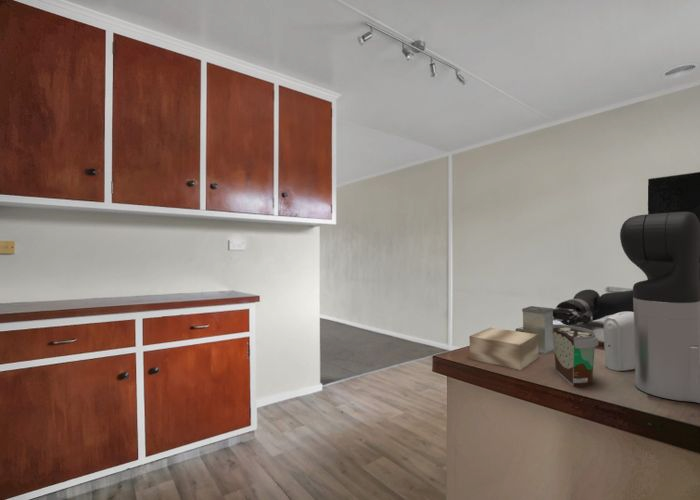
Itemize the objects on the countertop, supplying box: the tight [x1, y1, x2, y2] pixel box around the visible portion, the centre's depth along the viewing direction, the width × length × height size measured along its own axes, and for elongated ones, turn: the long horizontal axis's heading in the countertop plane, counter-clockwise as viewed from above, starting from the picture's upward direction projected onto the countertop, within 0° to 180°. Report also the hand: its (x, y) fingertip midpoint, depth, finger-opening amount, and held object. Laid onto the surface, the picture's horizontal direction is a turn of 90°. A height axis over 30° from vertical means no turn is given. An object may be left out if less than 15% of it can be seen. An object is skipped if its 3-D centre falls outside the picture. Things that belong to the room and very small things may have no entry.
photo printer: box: [603, 312, 635, 372], centre depth 78 cm, size 10×4×12 cm, turn 105°
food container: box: [552, 323, 599, 388], centre depth 72 cm, size 12×6×10 cm, turn 168°
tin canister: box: [521, 305, 554, 355], centre depth 92 cm, size 6×6×11 cm
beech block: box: [469, 327, 539, 371], centre depth 86 cm, size 12×12×6 cm
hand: (553, 319), depth 99 cm, fingers open, 8 cm apart
